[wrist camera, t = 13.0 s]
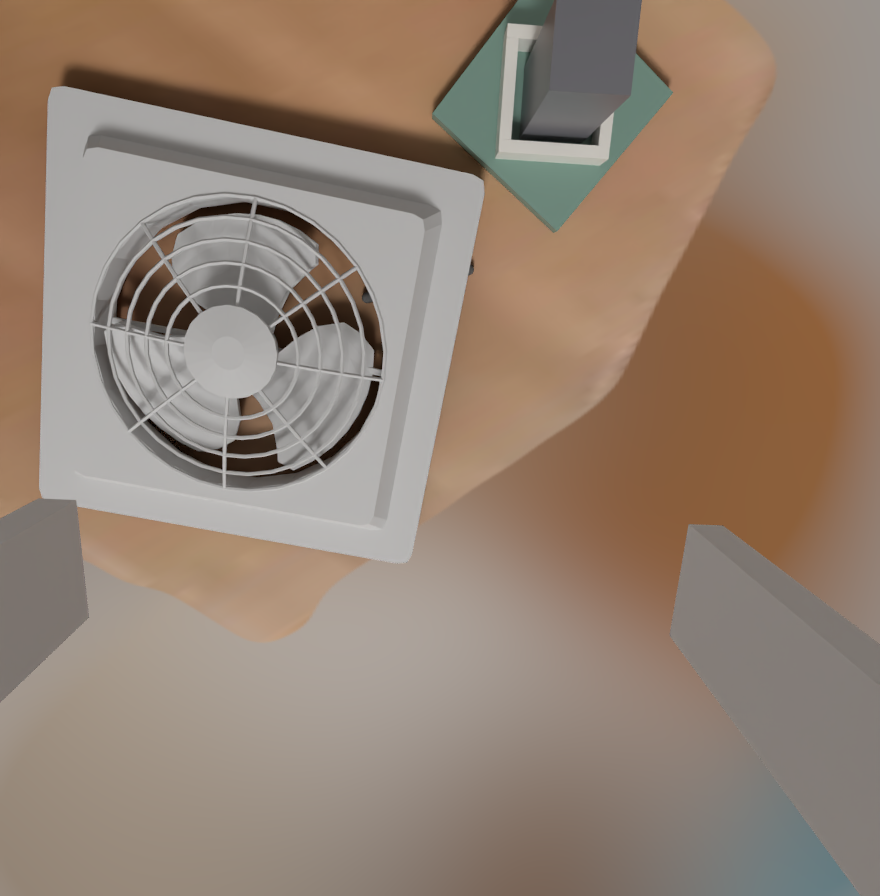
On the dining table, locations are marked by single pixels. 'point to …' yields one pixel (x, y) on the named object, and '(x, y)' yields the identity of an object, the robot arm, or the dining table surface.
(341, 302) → the dining table surface
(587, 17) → the plug
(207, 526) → the ventilation fan
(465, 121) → the header board
